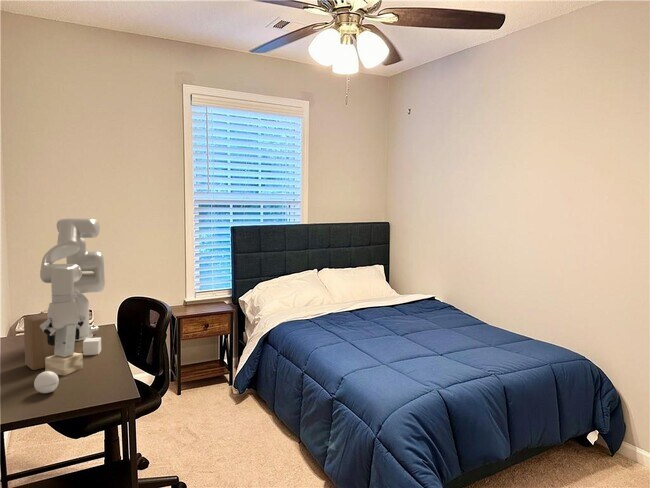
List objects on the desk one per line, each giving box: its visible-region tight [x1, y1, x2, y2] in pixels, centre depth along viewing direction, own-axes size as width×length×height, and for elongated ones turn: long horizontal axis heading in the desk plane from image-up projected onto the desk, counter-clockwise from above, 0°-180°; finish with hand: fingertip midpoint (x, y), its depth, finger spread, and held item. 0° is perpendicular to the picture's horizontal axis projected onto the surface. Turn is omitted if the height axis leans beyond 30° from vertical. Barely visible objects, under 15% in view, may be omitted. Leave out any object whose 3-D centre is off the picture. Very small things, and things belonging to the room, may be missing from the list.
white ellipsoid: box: [33, 371, 67, 394], centre depth 157 cm, size 10×7×7 cm
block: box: [23, 312, 56, 371], centre depth 183 cm, size 10×10×20 cm
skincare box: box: [54, 325, 76, 357], centre depth 178 cm, size 6×4×12 cm
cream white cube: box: [82, 336, 102, 356], centre depth 200 cm, size 6×6×6 cm
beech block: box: [44, 352, 84, 376], centre depth 178 cm, size 9×9×6 cm
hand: (64, 341), depth 177 cm, fingers open, 9 cm apart
